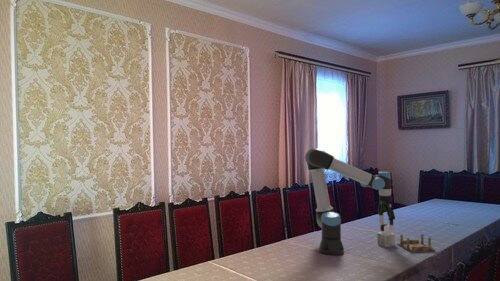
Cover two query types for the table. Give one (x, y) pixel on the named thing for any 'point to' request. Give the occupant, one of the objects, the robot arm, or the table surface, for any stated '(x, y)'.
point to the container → (385, 236)
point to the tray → (415, 245)
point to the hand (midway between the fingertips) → (386, 227)
